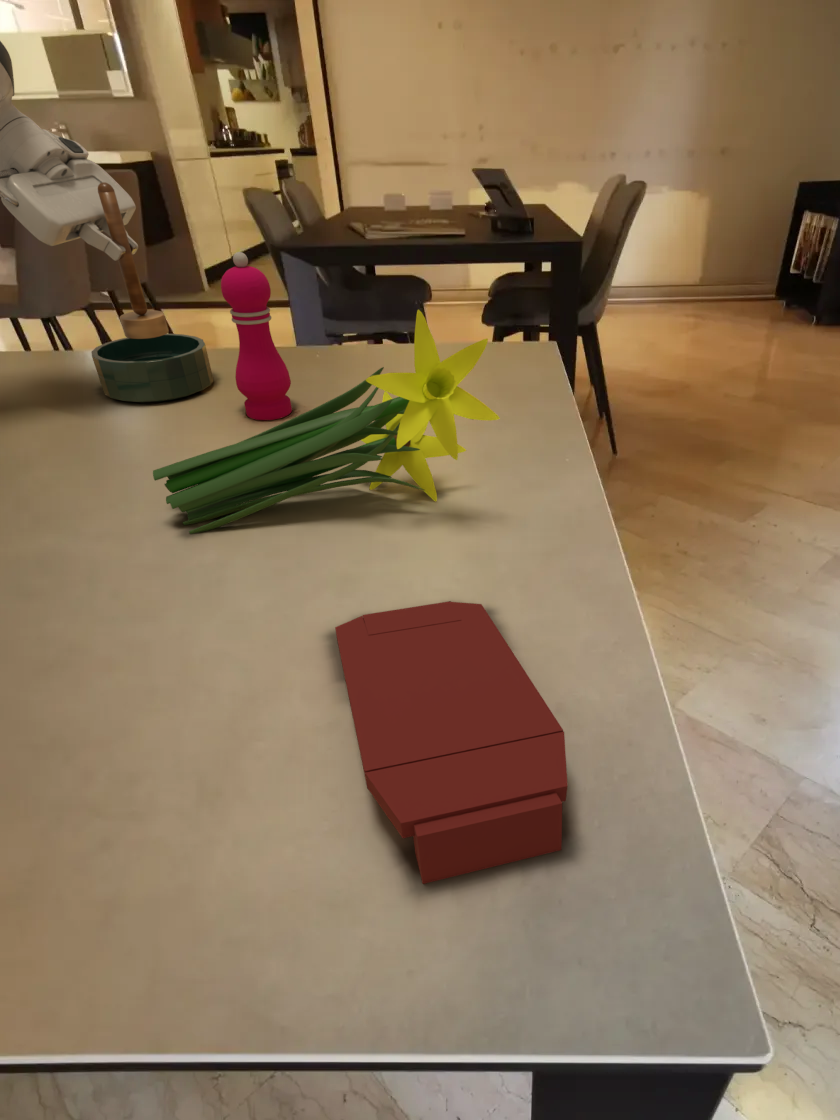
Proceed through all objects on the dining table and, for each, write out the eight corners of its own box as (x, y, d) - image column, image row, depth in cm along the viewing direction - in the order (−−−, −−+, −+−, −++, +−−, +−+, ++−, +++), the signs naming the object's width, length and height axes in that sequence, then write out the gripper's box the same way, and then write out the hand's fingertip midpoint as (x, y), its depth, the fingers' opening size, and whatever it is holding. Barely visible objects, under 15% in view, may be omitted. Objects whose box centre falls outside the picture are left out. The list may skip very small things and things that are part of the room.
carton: (342, 671, 59) (387, 897, 38) (333, 619, 57) (376, 830, 36) (479, 647, 62) (593, 846, 41) (477, 596, 59) (596, 780, 38)
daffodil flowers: (199, 486, 81) (480, 385, 82) (225, 596, 77) (523, 488, 77) (110, 394, 65) (461, 268, 65) (137, 526, 61) (514, 390, 61)
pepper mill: (232, 418, 97) (196, 255, 84) (260, 402, 102) (230, 246, 90) (278, 424, 95) (248, 258, 83) (305, 407, 100) (279, 248, 88)
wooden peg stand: (116, 335, 101) (68, 183, 90) (149, 326, 105) (107, 179, 94) (144, 341, 99) (98, 185, 87) (177, 331, 103) (138, 181, 91)
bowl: (82, 395, 104) (67, 353, 101) (165, 367, 115) (155, 329, 111) (154, 412, 98) (142, 368, 95) (235, 382, 109) (226, 341, 106)
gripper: (-13, 151, 81) (96, 248, 86) (85, 141, 97) (172, 224, 102) (-31, 196, 84) (75, 287, 89) (67, 180, 100) (152, 258, 105)
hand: (128, 253), depth 96 cm, fingers closed on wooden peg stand
